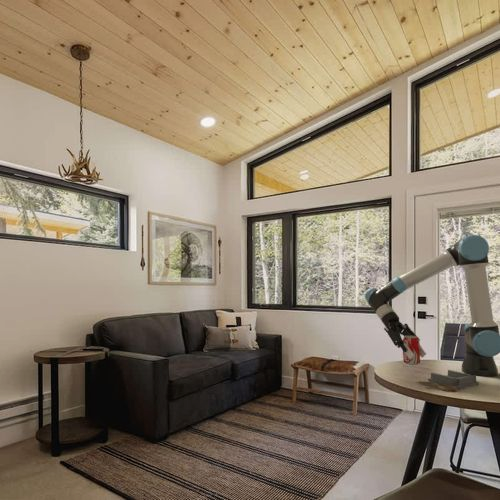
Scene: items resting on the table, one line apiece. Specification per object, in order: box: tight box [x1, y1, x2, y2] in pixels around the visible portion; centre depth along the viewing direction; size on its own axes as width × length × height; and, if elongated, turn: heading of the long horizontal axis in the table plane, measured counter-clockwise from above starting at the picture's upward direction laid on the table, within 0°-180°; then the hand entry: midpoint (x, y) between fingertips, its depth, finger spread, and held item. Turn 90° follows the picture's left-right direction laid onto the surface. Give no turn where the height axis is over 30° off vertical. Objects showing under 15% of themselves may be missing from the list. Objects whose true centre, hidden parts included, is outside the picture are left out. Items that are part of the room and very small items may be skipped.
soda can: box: [402, 335, 421, 366], centre depth 176 cm, size 7×7×12 cm
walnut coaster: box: [437, 384, 458, 393], centre depth 161 cm, size 7×7×1 cm
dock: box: [427, 369, 480, 390], centre depth 170 cm, size 14×14×4 cm
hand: (418, 356), depth 173 cm, fingers closed on soda can, 7 cm apart
